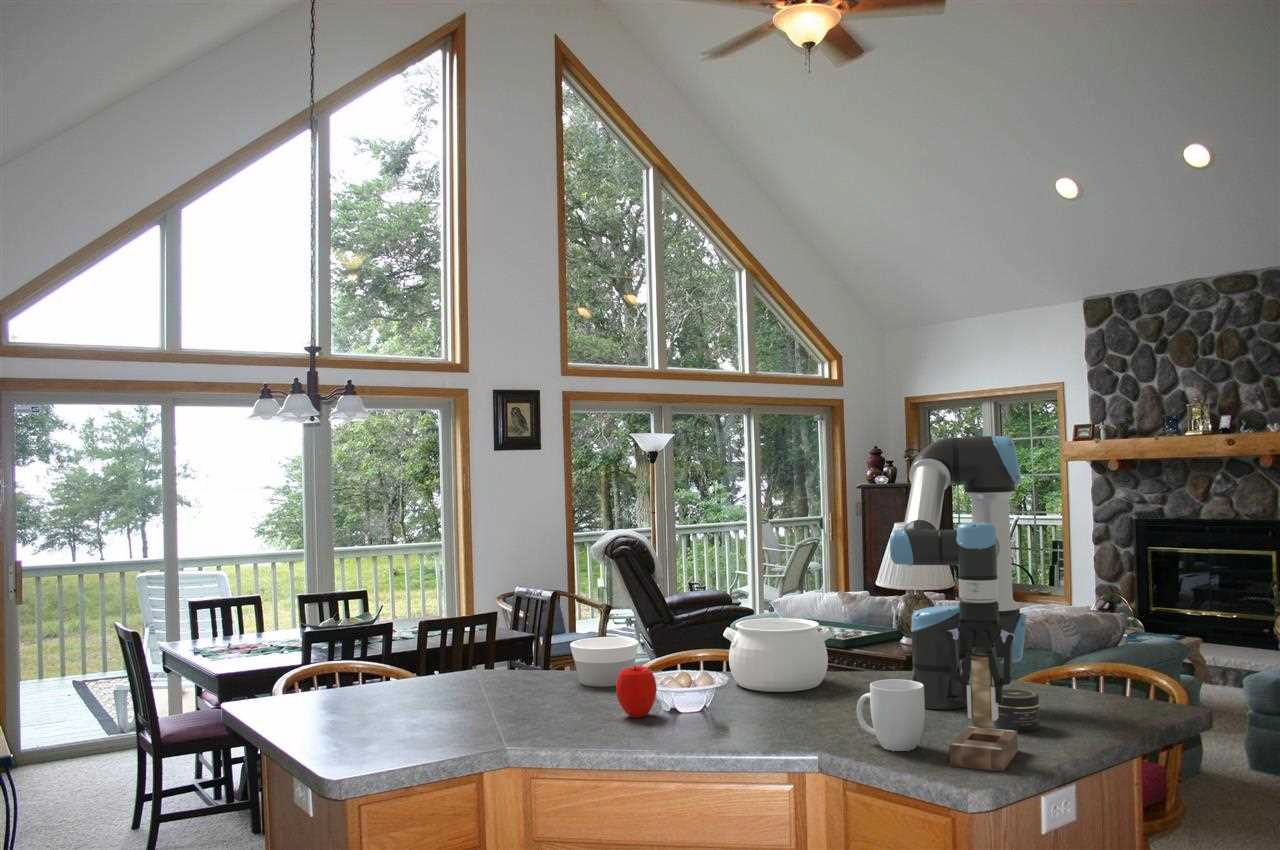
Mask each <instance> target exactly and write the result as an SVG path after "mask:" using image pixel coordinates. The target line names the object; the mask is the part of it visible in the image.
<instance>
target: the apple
mask: <svg viewBox="0 0 1280 850" xmlns="http://www.w3.org/2000/svg"><path fill="white" fill-rule="evenodd" d="M657 690H658V689H657V682H656V677H655V675H654V674H653V671H652V670H651V669H650V668H649V667H647V666H643V665H641V666H640V665H638V666H636V664H634V667H631V668H626V669H623V670H622V671H621V672H620V673H619V676H618V678H617V682H616V686H615V692H616V698H617V700H618V703H619V705H620V707H621V708H622V710H623V711H624V712H625V714H626V715H627V716H629V717H632V718H634V719H638V718H639V719H641V718H644V717H646V716H647V715H648V714H649V713H650V712H651V709H652V708H653V706H654V704H655V702H656V696H657Z"/></svg>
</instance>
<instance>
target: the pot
mask: <svg viewBox="0 0 1280 850" xmlns="http://www.w3.org/2000/svg"><path fill="white" fill-rule="evenodd" d="M819 623H820V622H817V621H815V620H811V619H806V618H805V619H804V618H794V617H793V618H792V617H791V618H790V617H768V618H767V617H765V618H764V617H763V618H753V619H747V620H741V621H738V622H736V623H735V628H737V630H735V629H733V628H731V627H726V628H725V630H724V632H723V634H722V635H723V637H724V638H725V639H727V640H729V641H730V646H729V650H728V651H729V652H728V665H729V669H730V672H731V675H732V678H733V679H734V681H735V682H736V683H737V684H738V686H740V687H742V688H745V689H747V690H751V691H757V692H764V693H765V692H766V693H792V692H803V691H807V690H810V689H814V688H816V687H818V686H820V684H821V683H822V681H823V680H824V679H825V677H826V674H827V669H828V666H829V663H828V661H829V656H828V651H827V645H826V642H825V641H827V640H829V639H830V638H832V637H833V633H832V631H831V629H830V628H829V627H828V628H826V629H824V630H823V631H821V632H819V630H818V628H819V626H820V624H819Z"/></svg>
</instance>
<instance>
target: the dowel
mask: <svg viewBox="0 0 1280 850" xmlns="http://www.w3.org/2000/svg"><path fill="white" fill-rule="evenodd" d="M970 681H971V682H970V683H971V688H972V716H973V718H972V727H977V728H992V729H994V727H995V725H994V721H993V720H992V710H991V686H992V685H993V677H992V672H991V668H990V664H989V659H988V656H987V654H982V653H976V654H973V655H972V656H971V674H970Z"/></svg>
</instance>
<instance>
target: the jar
mask: <svg viewBox="0 0 1280 850" xmlns="http://www.w3.org/2000/svg"><path fill="white" fill-rule="evenodd" d="M1039 725H1040V698H1039V694H1038V693H1037V692H1035V691H1032V690H1029V689H1024V688H1023V689H1022V688H1003V701H1002V703H998V719H997V720H996V721H994V727H995V728H996V729H1003V730H1013V731H1017V733H1031V732H1036V730H1037V729H1038V728H1039Z"/></svg>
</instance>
